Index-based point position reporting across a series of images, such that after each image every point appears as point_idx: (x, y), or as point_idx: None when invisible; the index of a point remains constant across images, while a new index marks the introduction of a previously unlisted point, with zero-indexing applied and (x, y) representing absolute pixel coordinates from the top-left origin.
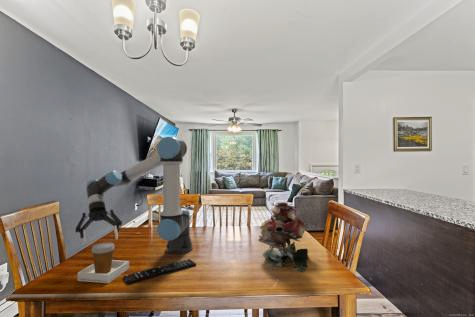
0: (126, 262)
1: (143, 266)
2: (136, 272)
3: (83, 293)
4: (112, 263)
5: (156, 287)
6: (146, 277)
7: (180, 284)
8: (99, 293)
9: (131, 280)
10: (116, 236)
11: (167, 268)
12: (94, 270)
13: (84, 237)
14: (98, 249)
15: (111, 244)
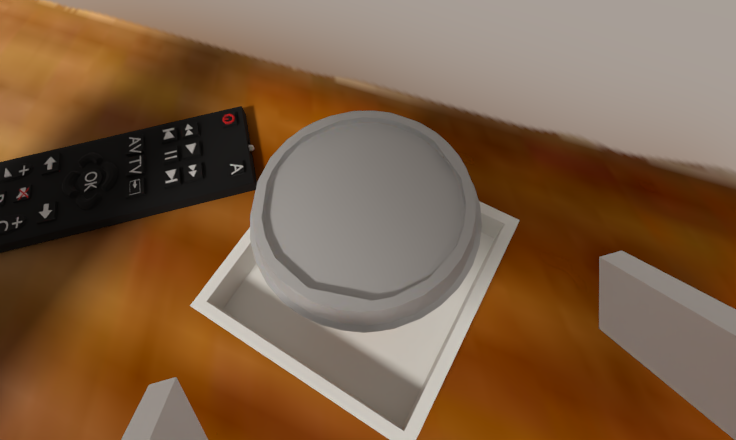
0: (211, 283)
1: (120, 315)
2: (182, 198)
3: (429, 100)
4: (314, 371)
5: (140, 59)
6: (150, 128)
7: (47, 53)
8: (361, 81)
9: (223, 115)
10: (177, 390)
11: (12, 189)
12: (434, 328)
13: (689, 294)
14: (396, 118)
15: (277, 237)
